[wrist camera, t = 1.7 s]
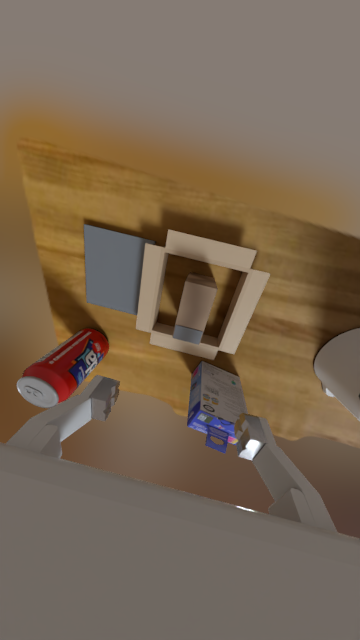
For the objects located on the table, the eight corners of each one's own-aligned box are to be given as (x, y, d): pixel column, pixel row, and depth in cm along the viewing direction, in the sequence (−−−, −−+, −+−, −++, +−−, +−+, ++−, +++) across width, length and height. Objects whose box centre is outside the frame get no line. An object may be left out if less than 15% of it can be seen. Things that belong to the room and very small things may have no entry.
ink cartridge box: (190, 375, 39) (183, 441, 26) (200, 359, 37) (199, 422, 24) (227, 391, 40) (238, 463, 27) (239, 376, 37) (259, 447, 24)
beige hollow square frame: (269, 254, 26) (278, 256, 23) (227, 353, 35) (229, 364, 32) (154, 226, 27) (147, 224, 24) (140, 331, 36) (134, 339, 33)
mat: (155, 241, 28) (154, 241, 27) (145, 315, 34) (144, 317, 33) (87, 224, 28) (83, 224, 27) (89, 300, 34) (86, 302, 33)
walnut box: (214, 277, 29) (217, 289, 22) (200, 322, 33) (199, 344, 26) (189, 271, 29) (185, 281, 22) (179, 317, 33) (172, 337, 26)
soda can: (82, 320, 37) (11, 365, 23) (115, 336, 37) (64, 389, 24) (76, 345, 40) (11, 398, 26) (106, 360, 41) (57, 418, 27)
